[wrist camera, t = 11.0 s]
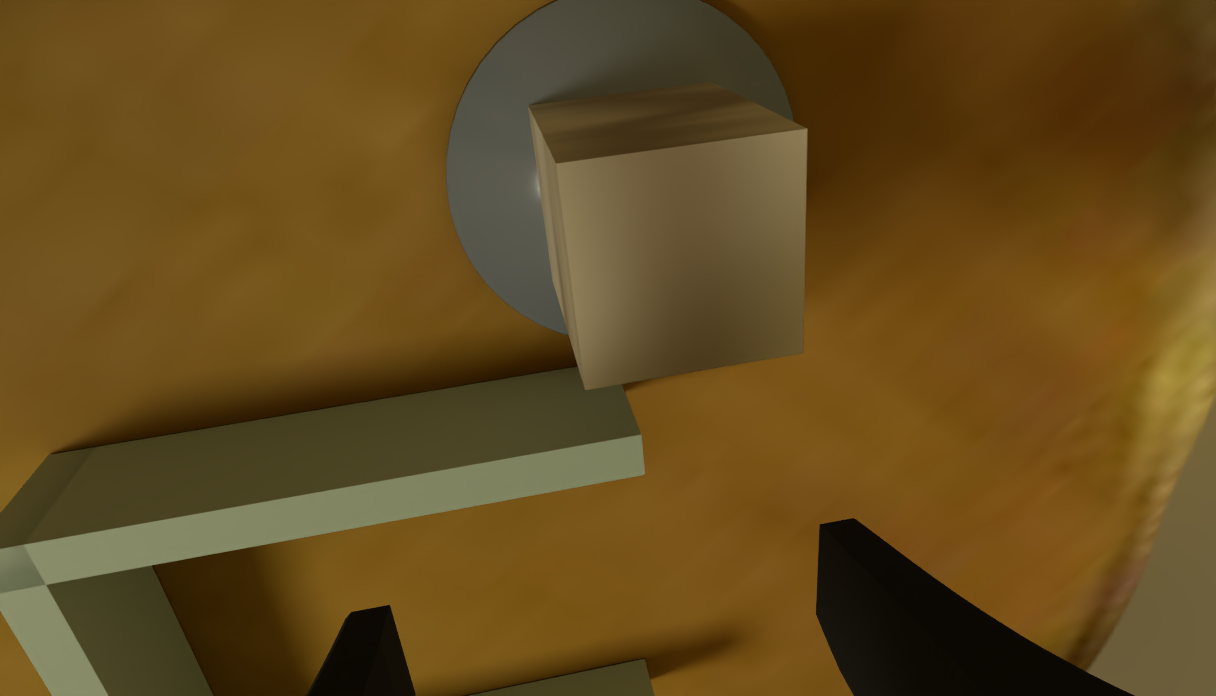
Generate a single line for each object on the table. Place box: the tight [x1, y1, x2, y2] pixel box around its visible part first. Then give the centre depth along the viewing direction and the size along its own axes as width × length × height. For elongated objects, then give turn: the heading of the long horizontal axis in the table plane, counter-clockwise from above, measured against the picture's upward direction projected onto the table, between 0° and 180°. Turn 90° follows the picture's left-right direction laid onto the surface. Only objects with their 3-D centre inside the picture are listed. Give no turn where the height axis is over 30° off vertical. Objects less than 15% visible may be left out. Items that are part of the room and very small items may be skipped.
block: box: [528, 82, 807, 390], centre depth 17 cm, size 4×4×6 cm
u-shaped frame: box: [0, 366, 654, 696], centre depth 23 cm, size 15×13×4 cm
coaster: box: [446, 0, 794, 335], centre depth 20 cm, size 9×9×1 cm
